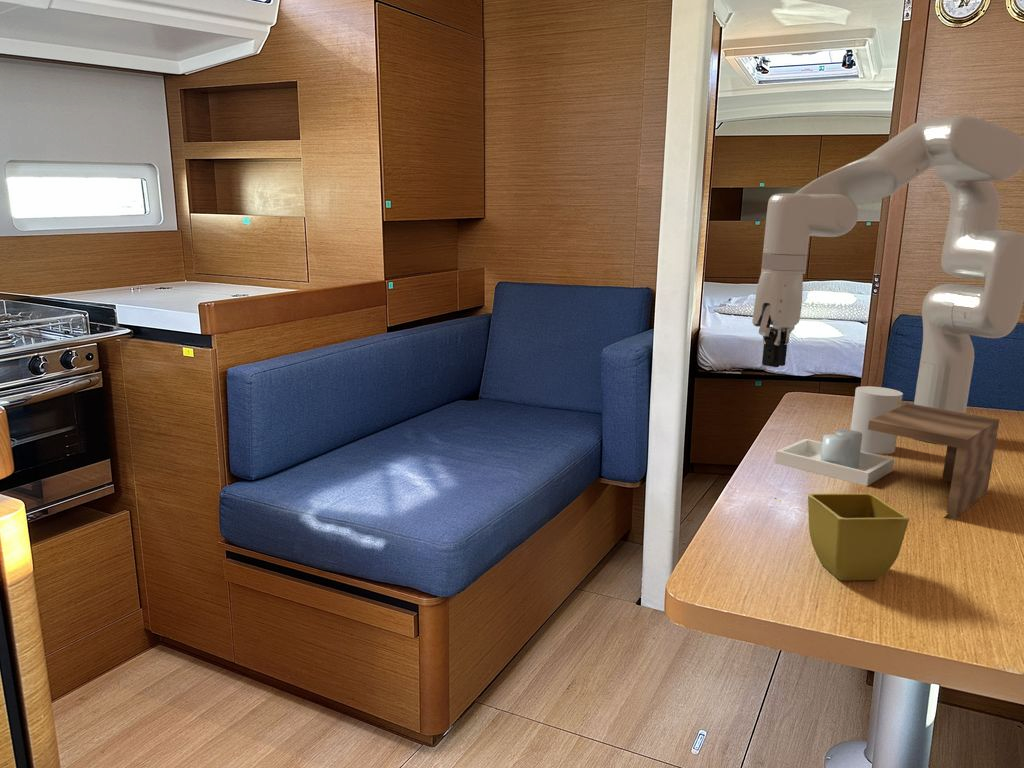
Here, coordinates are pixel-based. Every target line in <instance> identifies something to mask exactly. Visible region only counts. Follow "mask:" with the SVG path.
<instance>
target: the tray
mask: <svg viewBox="0 0 1024 768" xmlns="http://www.w3.org/2000/svg"><path fill="white" fill-rule="evenodd" d="M822 443H823V441H818V440H813V439H808V438H804V439H801V440H799V441H797V442H794V443H792V444H789V445H788V446H784V447H782V448H780V449H777V450H776V452H775V459H774V460H775V461H774V464H778V465H781V466H785V467H790V468H793V469H797V470H801V471H805V472H808V473H813V474H816V475H820V476H824V477H829V478H833V479H835V480H836V479H837V480H840V481H843V482H848V483H852V484H856V485H860V486H864V487H868V486H870V485H872V484H873V483H876V481H878V480H880V479H882V478H883V477H885V476H887V475H889V474H890V473H891V472H893V471H894V466H895V465H894V464H895V458H892V457H888V456H884V455H881V454H875V453H868V452H863V451H860V458H859V465H858V468H856V469H855V468H850V467H846V466H842V465H838V464H834V463H830V462H826V461H822V460H821V452H822Z"/></svg>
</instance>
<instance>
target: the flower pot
mask: <svg viewBox="0 0 1024 768" xmlns="http://www.w3.org/2000/svg"><path fill="white" fill-rule="evenodd" d="M807 510H808V512H807V513H808V514H807V515H808V531H809V537H810V541H811V544H812V548H813V549H814V552H815V554H816V556H817V558H818V561H819V562H820V564H821V565H822V566H823V567H824V568H825V569H826V570H828V571H829V572H830V573H831V574H832V575H833V576H834V577H835V578H836V579H838V580H840V581H877V580H879V579H881V578H882V577H883V576H884V575H885V574H886V573H888V571H889V570H890V569H891V568H892V567H893V565H894V563H895V562H896V560H897V559H898V557H899V554H900V552H901V549H902V545H903V542H904V538H905V535H906V531H907V528H908V526H909V525H908V524H909V521H910V517H909V516H908V515H906V514H904V513H903V512H901V511H899V510H897V508H894V507H892V506H891V505H889V504H888V503H886V502H885V501H884V500H882V499H881V498H879V497H878V496H876V495H874V494H872V493H860V492H859V493H853V492H851V493H808V494H807Z"/></svg>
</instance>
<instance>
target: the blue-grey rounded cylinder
mask: <svg viewBox="0 0 1024 768" xmlns="http://www.w3.org/2000/svg"><path fill="white" fill-rule="evenodd" d="M822 436H823V437H822V442H823V443H822V452H821V460H822V461H826V462H830V463H834V464H838V465H842V466H846V467H847V466H848V459H849V451H850V443H851V439H850V438H848V437H845V436H841V435H835V434H833V433H831V434H830V433H829V434H825V435H822Z"/></svg>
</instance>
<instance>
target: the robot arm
mask: <svg viewBox="0 0 1024 768" xmlns="http://www.w3.org/2000/svg"><path fill="white" fill-rule="evenodd" d="M931 168H932V169H933V171H934V173H935V175H936V176H937V177H938V179H939V181H940V182H942V184H943V186H944V187H945V189H946V191H947V193H948V197H949V200H950V208H949V209H950V210H949V216H948V221H947V222H948V223H947V227H946V231H945V236H944V241H943V247H942V251H941V259H940V261H941V262H940V265H941V268H942V270H943V272H944V273H946V274H947V275H950V276H952V277H957V278H963V279H974V280H983V281H985V283H984V286H977V285H970V284H969V285H968V284H957V283H944V284H941V285H937V286H935V287H933V288H932V289H931V290H929V291H928V292H927V294H926V295H925V297H924V298H923V302H922V306H921V318H922V332H923V333H922V346H921V354H920V360H919V368H918V375H917V379H916V380H917V381H916V386H915V395H914V400H913V404H915V405H920V406H926V407H932V408H937V409H943V410H949V411H954V412H960V413H966V412H967V405H968V399H969V394H970V387H971V380H972V377H973V369H974V362H975V348H974V344H973V341H972V339H971V336H974V337H980V338H986V339H1000V338H1004V337H1006V336H1008V335H1009V334H1011V332H1012V331H1013V330H1014V329H1015V328H1016V326H1017V324H1018V321H1019V319H1020V316H1021V313H1022V310H1023V309H1022V308H1023V305H1024V234H1022V233H1021V232H1018V231H1013V230H1004V229H1002V230H1001V229H999V230H998V225H999V218H1000V213H1001V212H1000V211H1001V198H1000V195H999V193H998V190H997V188H996V187H995V185H994V183H993V182H994V181H995V182H998V181H1005V180H1009V179H1012V178H1014V177H1015V176H1017V175H1018V174H1019V173H1020V172H1021V171H1022V170H1023V169H1024V137H1022V136H1021V135H1020V134H1019V133H1018V132H1016V131H1014V130H1011V129H1008V128H1005V127H1003V126H1000V125H997V124H994V123H991V122H989V121H987V120H983V119H981V118H978V117H975V116H969V115H954V116H945V117H936V118H928V119H923V120H921V121H920V120H919V121H918V122H915V123H913V124H911V125H910V126H908V127H907V128H905V129H903V130H902V131H901V132H899V133H898V134H896V135H895V136H893V137H892V138H890V139H889V140H888V141H887V142H885V143H883V145H881V146H879V147H878V148H876V149H875V150H874V151H872V152H870V153H869V154H867V155H866V156H864V157H862V158H859V159H857V160H854V161H852V162H850V163H847V164H845V165H844V166H840V167H839V168H837V169H834V170H831V171H830V172H827V173H825V174H822V175H821V176H819V177H818V178H816V179H814V180H812V181H811V182H809V183H807V184H805V186H803V187H802V188H800V189H799V190H797V191H796V192H794V193H791V192H790V193H786V192H785V193H783V192H782V193H775V194H772V195H771V196H770V197H769V199H768V202H767V209H766V219H765V229H764V238H763V239H764V240H763V249H762V260H761V268H760V269H761V270H760V276H759V279H758V283H757V288H756V292H755V299H754V307H753V313H752V324H753V327H759V329H758V334H759V335H760V336H762V344H763V348H762V349H763V350H762V359H761V364H762V365H763V366H766V367H772V368H779V367H783V366H784V367H785V366H786V363H787V362H786V360H787V351H788V344H789V342H790V335H791V333H792V332H793V331H795V330H794V329H795V326H797V325H798V324H799V322H800V319H801V312H802V307H803V306H802V303H803V290H804V288H803V287H804V285H803V283H804V279H803V277H804V275H805V274H806V272H807V271H806V270H807V263H808V262H807V260H808V254H809V253H808V250H809V244H810V242H809V241H810V237H823V238H825V237H826V238H834V237H835V238H838V237H841V236H843V235H846V234H848V233H849V232H850V231H851V230H852V229H853V228H854V227H855V225H856V224H857V221H859V220H858V219H859V209H858V206H857V204H858V205H859V204H861V203H867V202H872V201H877V200H880V199H882V198H886V197H889V196H891V195H894V194H895V193H897V192H898V191H900V190H901V189H902V188H904V187H905V186H906V185H908V184H909V183H910V182H912V181H913V180H915V179H916V178H917V177H919V176H920V175H922V174H923V173H925V172H926V171H927V170H929V169H931ZM992 181H993V182H992ZM966 414H967V413H966Z"/></svg>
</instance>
